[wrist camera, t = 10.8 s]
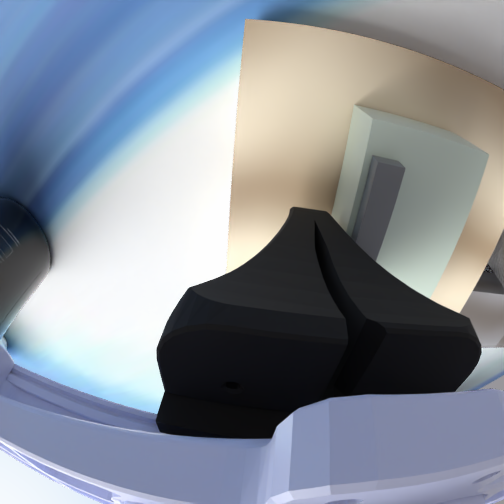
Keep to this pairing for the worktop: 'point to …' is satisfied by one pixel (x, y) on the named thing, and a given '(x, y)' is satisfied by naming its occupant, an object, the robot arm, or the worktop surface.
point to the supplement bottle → (19, 260)
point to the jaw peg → (498, 259)
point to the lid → (406, 193)
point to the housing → (336, 135)
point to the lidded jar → (3, 342)
